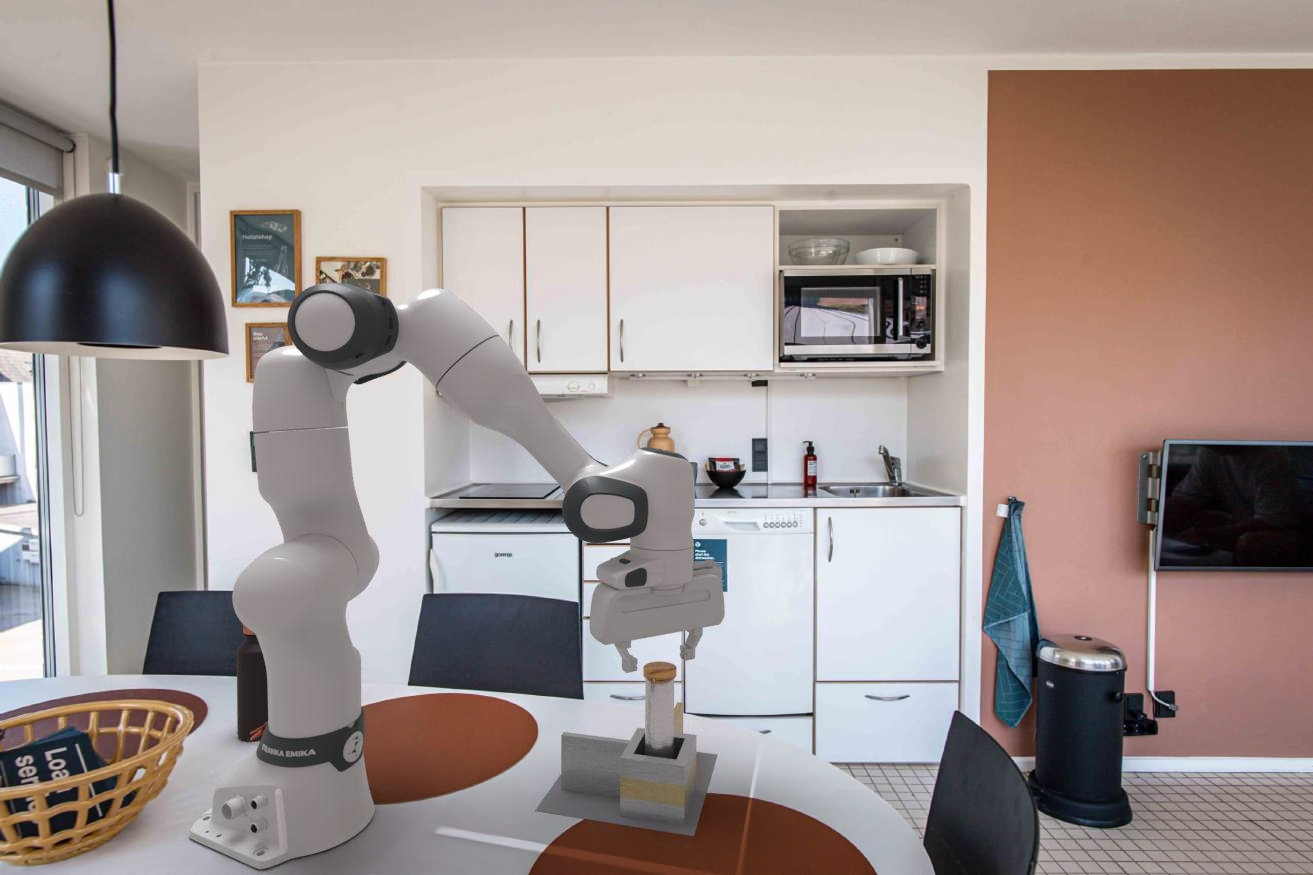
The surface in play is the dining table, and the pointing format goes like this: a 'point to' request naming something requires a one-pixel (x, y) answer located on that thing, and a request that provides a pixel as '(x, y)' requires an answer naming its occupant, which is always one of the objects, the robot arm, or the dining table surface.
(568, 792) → the base board
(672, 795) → the hinge
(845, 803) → the dining table surface
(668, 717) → the hinge pin
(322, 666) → the robot arm
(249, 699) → the bottle
